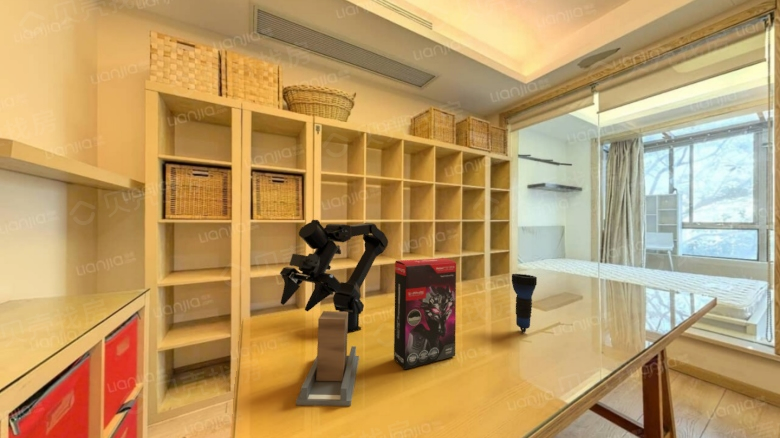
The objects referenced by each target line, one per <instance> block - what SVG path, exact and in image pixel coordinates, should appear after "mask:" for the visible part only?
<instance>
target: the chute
mask: <svg viewBox="0 0 780 438" xmlns="http://www.w3.org/2000/svg"><path fill="white" fill-rule="evenodd" d="M356 351H357V346H356V345H355V346H354V345H353V346H351V347H350V352H349V355H347V359H346V370H345V374H344V378H343V381H316V374H317V356H316V357H315V359H314V361H313V363H312V365H311V367H310V369H309V371H308V373H307V375H306V377H305V379H304V381H303V383H302V385H301V387H300V391H299V393H298V396H297V398H296V399H295V405H296V406H321V407H322V406H323V407H324V406H325V407H326V406H330V407H331V406H332V407H351V405H352V399H353V394H354V388H355V383H356V377H357V372H358V366H359V360H360V355H356V353H357V352H356Z"/></svg>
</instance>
